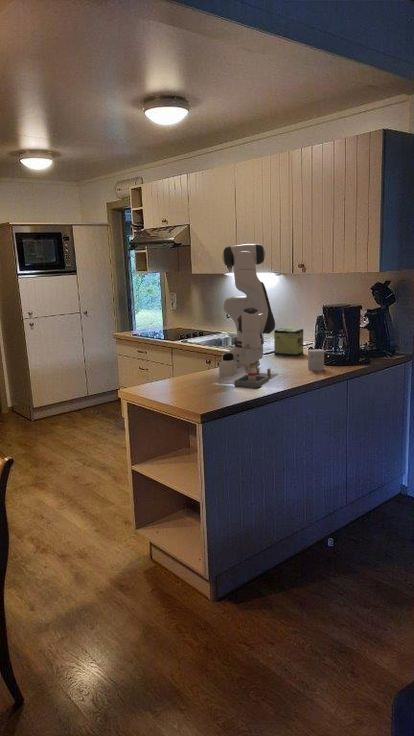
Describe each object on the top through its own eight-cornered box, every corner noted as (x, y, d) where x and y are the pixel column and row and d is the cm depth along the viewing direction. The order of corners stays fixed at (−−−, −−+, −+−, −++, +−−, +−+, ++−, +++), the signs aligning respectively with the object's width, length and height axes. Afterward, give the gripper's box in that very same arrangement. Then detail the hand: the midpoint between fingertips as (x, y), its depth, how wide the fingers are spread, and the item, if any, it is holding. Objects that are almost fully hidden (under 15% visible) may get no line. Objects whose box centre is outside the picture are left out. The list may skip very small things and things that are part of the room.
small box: (322, 368, 284) (323, 349, 281) (324, 370, 278) (324, 350, 276) (307, 368, 284) (307, 349, 282) (308, 370, 279) (308, 351, 277)
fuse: (246, 383, 252) (245, 364, 250) (250, 381, 256) (250, 363, 254) (253, 383, 250) (253, 365, 248) (257, 382, 253) (257, 363, 252)
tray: (234, 386, 250) (234, 380, 249) (246, 380, 262) (246, 374, 261) (257, 389, 244) (257, 382, 244) (268, 382, 256) (268, 376, 256)
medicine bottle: (236, 375, 275) (236, 352, 272) (231, 378, 268) (231, 355, 266) (224, 374, 278) (223, 351, 275) (219, 377, 271) (218, 354, 269)
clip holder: (247, 379, 264) (247, 369, 262) (257, 374, 274) (256, 365, 273) (270, 381, 258) (270, 371, 257) (278, 376, 268) (278, 366, 267)
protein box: (297, 356, 318) (297, 331, 314) (273, 354, 326) (273, 330, 323) (303, 353, 326) (303, 329, 323) (280, 352, 335) (280, 327, 331)
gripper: (248, 347, 238) (249, 376, 241) (265, 340, 256) (265, 367, 259) (236, 346, 241) (236, 375, 244) (253, 339, 259) (253, 366, 262)
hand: (251, 371), depth 252 cm, fingers open, 8 cm apart
